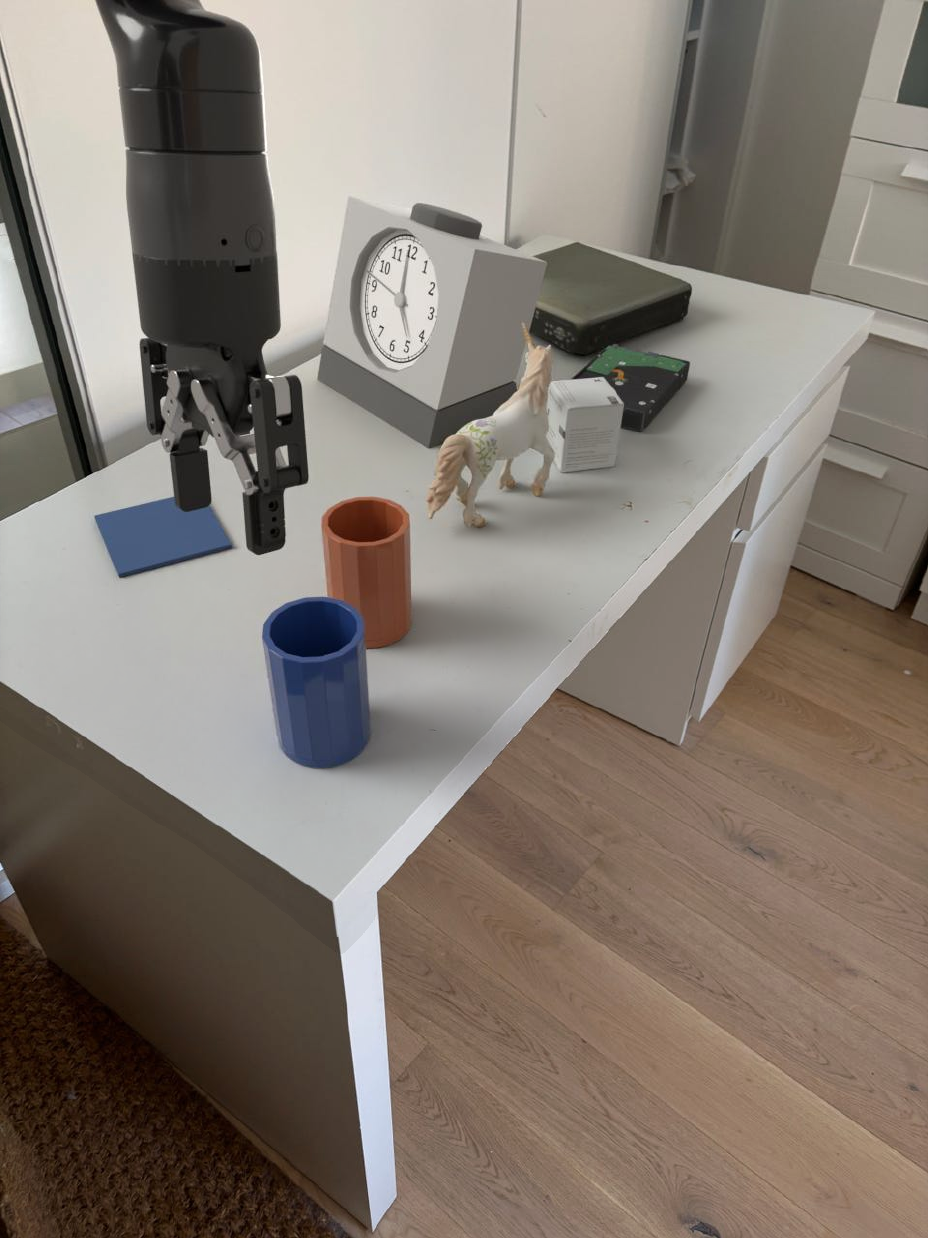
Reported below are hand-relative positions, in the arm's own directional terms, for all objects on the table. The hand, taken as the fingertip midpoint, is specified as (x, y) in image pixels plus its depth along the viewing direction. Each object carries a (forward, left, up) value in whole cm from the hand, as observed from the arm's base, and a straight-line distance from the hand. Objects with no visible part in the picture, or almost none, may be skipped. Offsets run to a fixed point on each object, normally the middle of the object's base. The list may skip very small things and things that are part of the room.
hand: (228, 528), depth 59 cm
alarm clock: (+34, +42, -17) cm, 57 cm away
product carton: (+42, +22, -18) cm, 50 cm away
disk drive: (+54, +31, -17) cm, 65 cm away
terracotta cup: (+12, +7, -17) cm, 22 cm away
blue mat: (0, +27, -17) cm, 32 cm away
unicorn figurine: (+30, +21, -17) cm, 41 cm away
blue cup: (+4, -3, -17) cm, 18 cm away
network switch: (+62, +53, -17) cm, 83 cm away
